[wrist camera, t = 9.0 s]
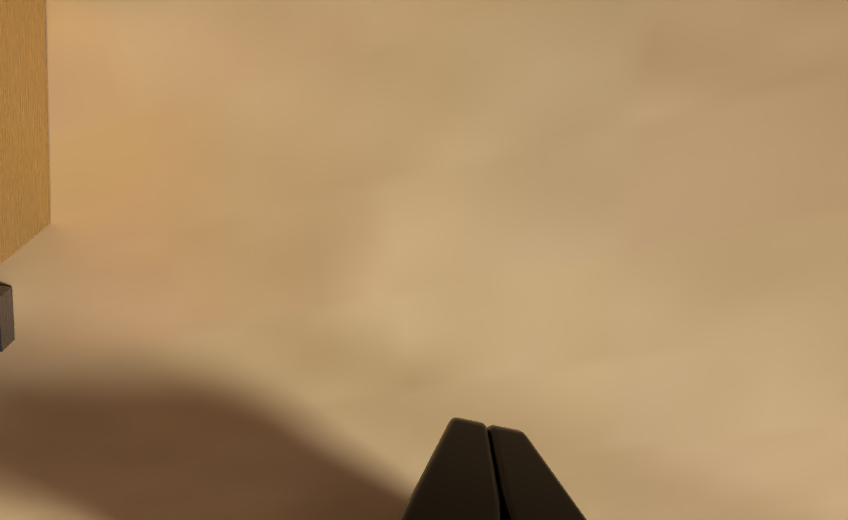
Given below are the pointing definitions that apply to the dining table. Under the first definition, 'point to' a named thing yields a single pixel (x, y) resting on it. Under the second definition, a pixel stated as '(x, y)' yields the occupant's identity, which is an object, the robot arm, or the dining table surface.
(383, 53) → the dining table surface
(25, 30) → the valve body
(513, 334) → the dining table surface
